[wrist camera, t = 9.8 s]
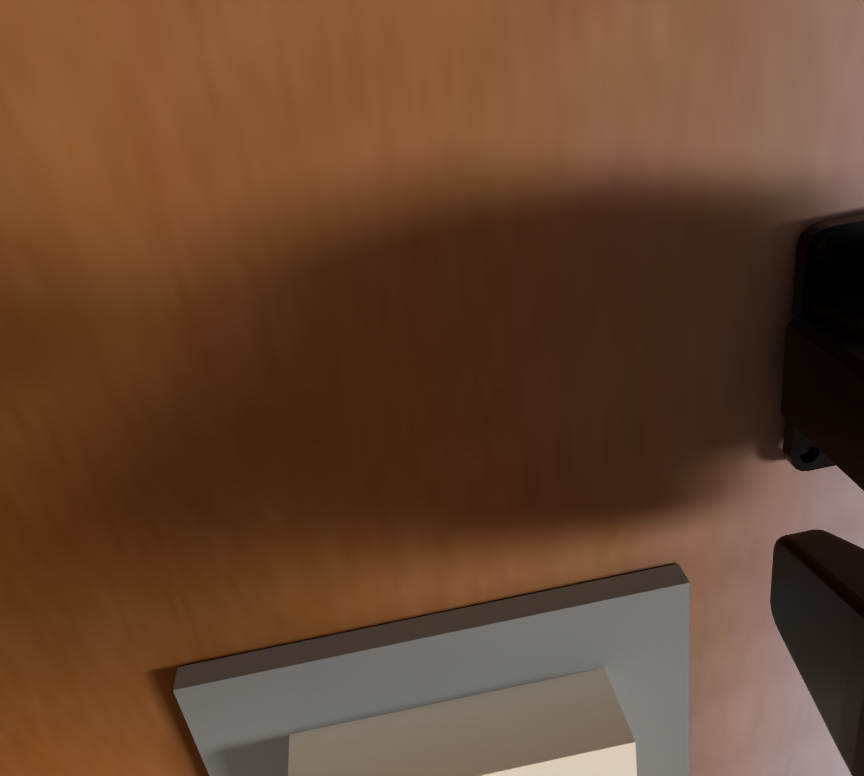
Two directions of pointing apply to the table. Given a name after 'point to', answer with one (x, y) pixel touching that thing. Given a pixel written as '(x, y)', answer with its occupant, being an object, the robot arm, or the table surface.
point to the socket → (465, 691)
